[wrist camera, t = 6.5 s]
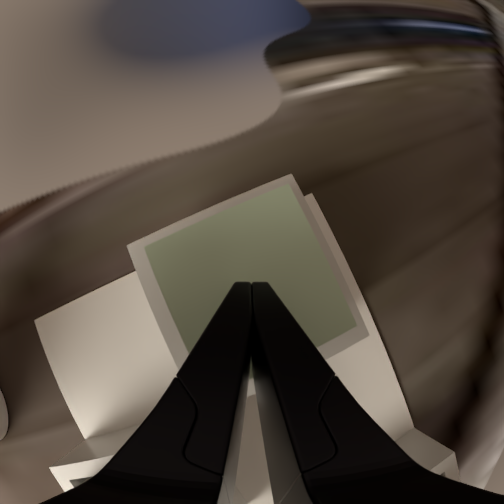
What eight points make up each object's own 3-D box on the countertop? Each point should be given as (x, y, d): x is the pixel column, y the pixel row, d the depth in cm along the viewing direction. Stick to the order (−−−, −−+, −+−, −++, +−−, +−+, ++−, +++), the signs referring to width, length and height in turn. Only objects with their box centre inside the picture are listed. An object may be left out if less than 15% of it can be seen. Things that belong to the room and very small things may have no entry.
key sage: (310, 319, 15) (357, 325, 9) (222, 360, 14) (209, 396, 8) (269, 232, 15) (288, 183, 9) (181, 271, 15) (143, 246, 9)
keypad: (433, 494, 14) (467, 522, 9) (203, 586, 12) (198, 625, 7) (311, 194, 17) (333, 157, 12) (35, 320, 15) (-13, 320, 11)
